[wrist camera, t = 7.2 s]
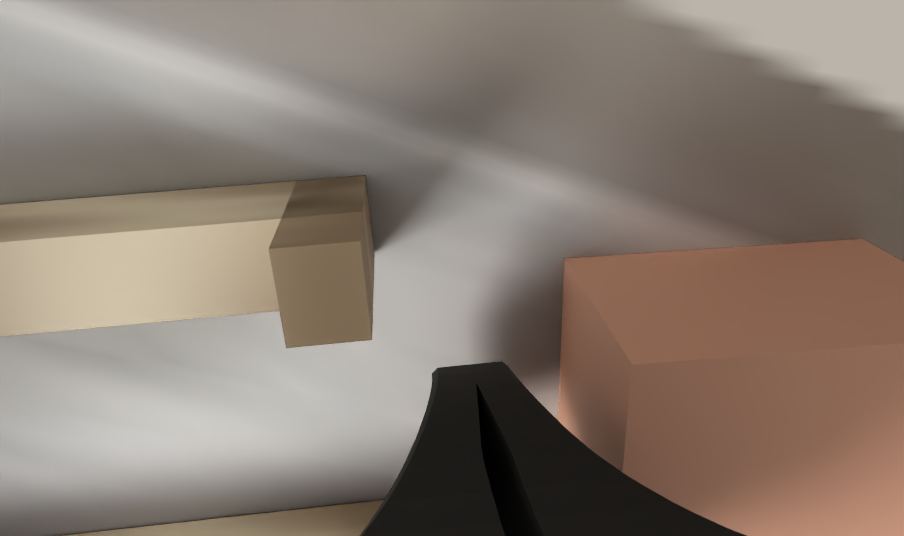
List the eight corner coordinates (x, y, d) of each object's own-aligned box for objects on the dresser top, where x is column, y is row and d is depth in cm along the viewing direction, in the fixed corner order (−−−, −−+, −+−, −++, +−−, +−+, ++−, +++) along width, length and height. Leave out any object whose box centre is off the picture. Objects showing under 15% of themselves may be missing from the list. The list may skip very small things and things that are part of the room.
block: (554, 461, 15) (609, 617, 11) (562, 255, 13) (631, 364, 9) (810, 438, 16) (942, 582, 12) (857, 236, 14) (1032, 333, 10)
